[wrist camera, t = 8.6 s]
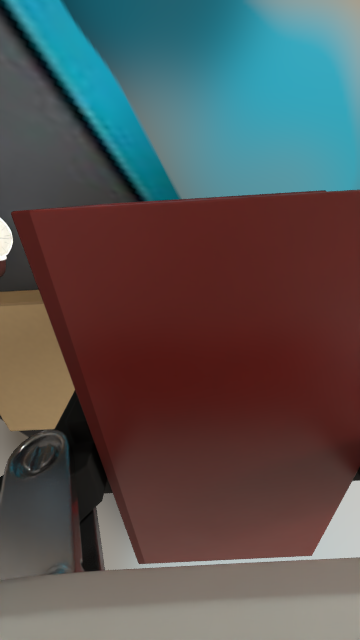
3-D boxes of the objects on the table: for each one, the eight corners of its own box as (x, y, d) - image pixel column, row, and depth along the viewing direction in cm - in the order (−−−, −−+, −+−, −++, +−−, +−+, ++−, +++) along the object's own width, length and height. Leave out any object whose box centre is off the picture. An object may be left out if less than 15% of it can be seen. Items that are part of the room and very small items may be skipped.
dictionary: (103, 204, 7) (8, 212, 3) (321, 190, 7) (516, 180, 3) (149, 450, 12) (138, 564, 9) (269, 444, 12) (312, 556, 9)
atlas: (-38, 293, 22) (-67, 307, 19) (87, 286, 22) (74, 299, 19) (25, 410, 29) (10, 431, 27) (118, 405, 29) (112, 426, 27)
